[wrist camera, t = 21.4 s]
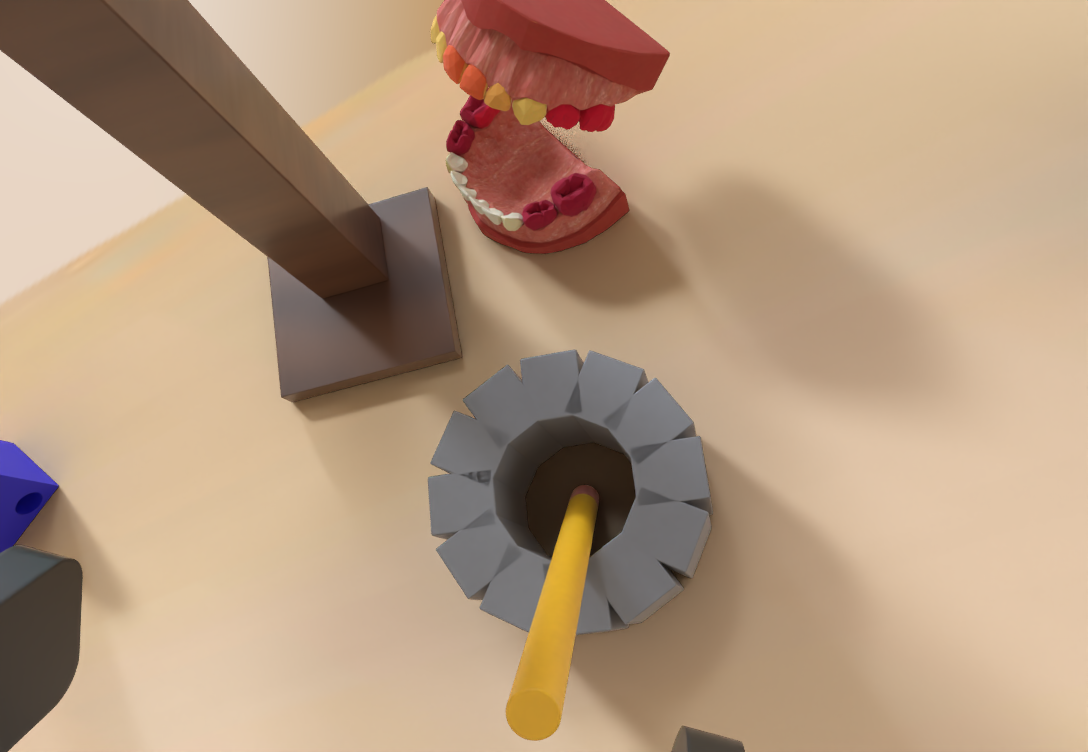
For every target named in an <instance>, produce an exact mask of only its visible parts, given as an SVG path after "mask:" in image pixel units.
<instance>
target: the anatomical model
mask: <svg viewBox="0 0 1088 752" xmlns="http://www.w3.org/2000/svg"><path fill="white" fill-rule="evenodd" d="M431 42H432V43H436V45H437V57H438V59H439V62H440V63H444V70H445V71H446V73H447V74H448V76H449V77H450V79H451V80H453V81H454V82H455V83H456V84H459V83H460V88H461V89H462V90H464V91H465V92H466V93H467V94H469V95H470V97H469V98H468V100H467V102H466V103H465V105H464V106H463V108H462V109H461V111H460V116H461V118H462V120H463V121H462V120H457V121H456V123H455V125H454V126H453V130H451V131H450V133H449V136H448V139H447V141H446V147H447V151H449V152H450V154H449V155H448V156H447V158H446V160H445V161H446V166H447V169H448V172H449V173H451V177H452V180H453V182H454V184H455V185H456V187H457V188H458V189H459V190H460V192H461V194H462V196H463V197H464V200H465V201H466V202H467V204H468V207H469V210H470V213H471V215H472V217H473V218H474V220H475V222H476V224H477V225H478V227H479V228H480V230H481V232H482V233H483V234H484V235H486V236H488V237H489V238H491V239H493V240H494V241H496V242H498V243H501V244H503V245H506V246H510V247H512V248H514V249H517V250H519V251H522V252H525V253H541V254H546V253H552V252H558V251H562V250H565V249H568V248H571V247H574V246H577V245H580V244H583V243H586V242H587V241H589V240H590V239H592V238H594V237H595V236H597V235H599V234H600V233H602V232H603V231H605V230H607V229H608V228H609V227H611V226H612V225H613V224H614V223H615V222H616V221H618V220H619V219H620V218H621V217H622V216H624V215H625V214H626V213H627V212H628V211H629V207H628V203H627V199H626V195H625V193H624V192H623V191H622V190H621V188H620V187H619V186H618V185H617V184H615V183H614V182H613V181H612V180H611V179H610V178H609V177H607V176H606V175H605V174H604V173H603V172H602V171H601V170H599V169H592V168H590V167H588V166H587V165H585V164H584V163H583V162H582V161H581V160H580V159H579V158H578V157H577V156H575V155H574V154H573V153H572V152H571V151H570V150H569V149H568V148H567V147H565V146H564V145H563V144H562V143H561V142H560V141H559V140H558V139H557V138H555V137H554V136H553V135H552V134H551V133H550V132H549V131H548V130H547V129H545V128H544V127H543V126H542V124H541V123H540V122H539V121H540V120H542V119H543V118H544V117H546V118H547V121H548V122H549V123H551V124H552V125H553V126H554V127H562V128H565V129H567V130H568V129H570V128H572V127H573V126H575V125H576V124H577V123H578V121H579V122H580V129H581V130H583V131H584V130H587V131H588V132H593V131H595V130H596V131H598V132H599V131H604V130H606V129H608V128H609V127H610V126H611V123H612V121H613V119H614V111H615V104H618V103H622V102H626V101H627V100H629V99H630V98H632V97H633V96H635V95H637V94H640V93H643V92H646V91H649V90H652V89H653V87H654V85H655V83H656V82H657V80H658V78H659V76H660V74H661V72H662V70H663V68H664V66H665V64H666V62H667V60H668V58H669V55H670V53H669V52H668V51H667V50H666V49H665V48H664V47H662V46H661V45H660V44H659V43H658V42H656V41H655V40H654V39H653V38H651V37H650V36H649V35H648V34H646V33H645V32H644V31H643V30H641V29H640V28H639V27H638V26H636V25H635V24H634V23H633V22H631V21H630V20H629V19H628V18H626V17H625V16H624V15H623V14H621V13H620V12H619V11H618V10H616V9H615V8H614V7H613V6H611V5H610V4H609V3H608V2H606V1H605V0H444V2H443V3H442V4H441V6H440V7H439V9H438V10H437V16H436V17H435V18H434V20H433V24H432V28H431ZM488 87H489V88H488Z"/></svg>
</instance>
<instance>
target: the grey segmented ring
mask: <svg viewBox="0 0 1088 752" xmlns="http://www.w3.org/2000/svg"><path fill="white" fill-rule="evenodd" d="M520 364H521V374H522V380H521V379H520V378H519V376H518V375H517V374H516V373H515V372H514V371H513V370H512V369H511V367H510V366H509V365H506V366H505V367H504V368H502V369H501V370H500V371H498V372H497V373H496V374H495V375H493V376H492V377H491V378H490V379H488V380H487V381H486V382H484V383H483V384H482V385H481V386H479V387H478V388H477V389H475V390H474V391H473V392H472V393H470V394H469V395H468V396H466V397H465V398H464V399H463V402H464V403H465V404H466V406H467V407H468V409H469V410H470V411H471V413H472V414H473V415H474V417H475V418H476V419H474V418H472V417H469V416H467V415H464V414H462V413H459V412H457V411H454V412H453V414H452V416H451V418H450V420H449V423H448V425H447V427H446V429H445V432H444V434H443V436H442V438H441V440H440V443H439V445H438V447H437V449H436V451H435V454H434V456H433V458H432V460H431V463H430V464H432V465H434V466H436V467H438V468H440V469H442V470H444V471H446V472H448V473H450V474H445V475H438V476H432V477H428V489H429V504H430V520H431V534H432V536H436V537H439V538H443V539H447V541H445V542H444V543H443V544H442V545H440V546H439V547H438V548H437V549H436V551H437V552H438V554H439V555H440V557H441V558H442V560H443V561H444V563H445V564H446V566H447V567H448V569H449V570H450V572H451V573H452V575H453V577H454V578H455V580H456V581H457V583H458V584H459V586H460V587H461V589H462V590H463V592H464V593H465V595H466V596H467V598H468V599H478V600H483V601H482V603H481V606H480V609H481V610H483V611H485V612H487V613H489V614H491V615H493V616H495V617H497V618H499V619H501V620H503V621H506V622H508V623H510V624H512V625H514V626H516V627H518V628H520V629H522V630H524V631H526V632H529V631H530V628H531V624H532V621H533V618H534V615H535V611H536V608H537V605H538V602H539V598H540V595H541V592H542V588H543V585H544V582H545V579H546V575H547V572H548V569H549V566H550V562H551V559H552V557H550V556H548V555H547V554H546V552H545V551H544V550H543V548H542V547H541V545H540V544H539V543H538V541H537V540H536V538H535V537H534V536H533V534H532V533H531V531H530V530H529V529H528V519H527V509H526V500H525V496H526V494H527V491H528V489H529V487H530V484H531V482H532V480H533V477H534V475H535V473H536V470H537V468H538V467H539V466H540V465H541V464H542V463H544V462H545V461H546V460H548V459H549V458H550V457H551V456H553V455H554V454H555V453H556V452H558V451H559V450H560V449H562V448H563V447H567V446H574V445H580V444H587V443H593V442H594V443H597V444H600V445H602V446H605V447H607V448H610V449H612V450H615V451H617V452H620V453H623V454H624V455H625V456H626V457H627V458H628V460H629V461H630V462H631V464H632V471H633V478H634V486H635V493H636V497H635V500H634V502H633V505H632V507H631V510H630V512H629V515H628V517H627V520H626V522H625V525H624V527H623V530H622V532H621V533H620V534H619V535H617V536H616V537H615V538H613V539H612V540H611V541H610V542H608V543H607V544H606V545H604V546H603V547H602V548H601V549H599V550H598V551H597V552H596V553H594V554H593V555H592V556H589V562H588V568H587V573H586V579H585V585H584V590H583V596H582V602H581V608H580V613H579V619H578V625H577V630H576V635H579V634H588V633H597V632H606V631H614V630H620V629H627V628H628V627H629V625H628V624H635V623H642V622H643V621H645V620H646V619H647V618H648V617H650V616H651V615H652V614H653V613H655V612H656V611H657V610H659V609H660V608H661V607H662V606H664V605H665V604H666V603H668V602H669V601H670V600H671V599H673V598H674V597H675V596H676V595H678V594H679V593H680V592H682V591H683V590H684V588H683V586H682V585H681V584H680V583H679V581H678V580H677V579H676V577H675V576H674V575H673V573H672V572H671V571H670V570H673V571H675V572H677V573H680V574H682V575H684V576H687V577H689V578H693V575H694V573H695V570H696V568H697V565H698V562H699V560H700V557H701V554H702V552H703V549H704V547H705V544H706V541H707V539H708V536H709V534H710V531H711V522H710V518H709V515H711V514H713V509H712V503H711V497H710V491H709V485H708V479H707V473H706V467H705V461H704V455H703V449H702V443H701V437H700V436H696V433H695V427H694V423H693V421H692V420H691V419H690V417H689V416H688V415H687V414H686V413H685V412H684V410H683V409H682V408H681V407H680V406H679V404H678V403H677V402H676V401H675V400H674V399H673V397H672V396H671V395H670V394H669V393H668V391H667V390H666V389H665V388H664V387H663V386H662V384H661V383H660V382H659V381H658V380H657V378H654V379H653V380H651V381H650V382H649V383H648V380H647V377H646V374H645V371H644V369H641V368H639V367H636V366H633V365H630V364H627V363H624V362H622V361H619V360H616V359H613V358H610V357H608V356H605V355H602V354H599V353H596V352H593V351H589V353H588V355H587V357H586V360H585V362H584V363H583V361H582V359H581V357H580V356H579V354H578V352H577V351H576V350H570V351H564V352H558V353H552V354H546V355H541V356H535V357H529V358H523V359H521V360H520ZM669 569H670V570H669Z"/></svg>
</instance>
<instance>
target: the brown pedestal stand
mask: <svg viewBox="0 0 1088 752" xmlns="http://www.w3.org/2000/svg"><path fill="white" fill-rule="evenodd" d="M0 50H1V51H2V52H3V53H5V54H6V55H7V56H9V57H10V58H11V59H12V60H14V61H15V62H16V63H18V64H19V65H20V66H22V67H23V68H24V69H25V70H27V71H28V72H29V73H31V74H32V75H33V76H34V77H36V78H37V79H38V80H40V81H41V82H42V83H44V84H45V85H46V86H47V87H49V88H50V89H51V90H53V91H54V92H55V93H56V94H58V95H59V96H60V97H62V98H63V99H64V100H65V101H67V102H68V103H69V104H71V105H72V106H73V107H75V108H76V109H77V110H79V111H80V112H81V113H82V114H84V115H85V116H86V117H87V118H89V119H90V120H91V121H93V122H94V123H95V124H97V125H98V126H99V127H100V128H102V129H103V130H104V131H106V132H107V133H108V134H110V135H111V136H112V137H113V138H115V139H116V140H117V141H119V142H120V143H121V144H122V145H124V146H125V147H126V148H128V149H129V150H130V151H132V152H133V153H134V154H135V155H137V156H138V157H139V158H141V159H142V160H143V161H144V162H146V163H147V164H148V165H150V166H151V167H152V168H154V169H155V170H156V171H158V172H159V173H160V174H161V175H163V176H164V177H165V178H166V179H168V180H169V181H170V182H172V183H173V184H174V185H176V186H177V187H178V188H179V189H181V190H182V191H183V192H185V193H186V194H187V195H188V196H190V197H191V198H192V199H194V200H195V201H196V202H198V203H199V204H200V205H201V206H203V207H204V208H205V209H207V210H208V211H209V212H211V213H212V214H213V215H214V216H216V217H217V218H218V219H220V220H221V221H222V222H223V223H225V224H226V225H227V226H229V227H230V228H231V229H233V230H234V231H235V232H236V233H238V234H239V235H240V236H242V237H243V238H244V239H245V240H247V241H248V242H249V243H251V244H252V245H253V246H255V247H256V248H257V249H258V250H260V251H261V252H262V253H264V254H265V255H266V256H267V257H268V265H269V276H270V286H271V296H272V306H273V317H274V327H275V337H276V348H277V358H278V368H279V379H280V389H281V397H282V398H284V399H286V400H288V401H290V402H295V401H299V400H303V399H307V398H310V397H314V396H318V395H322V394H326V393H329V392H333V391H337V390H341V389H345V388H348V387H352V386H356V385H360V384H364V383H367V382H371V381H375V380H379V379H383V378H386V377H390V376H394V375H398V374H401V373H405V372H409V371H413V370H417V369H420V368H424V367H428V366H432V365H436V364H439V363H443V362H447V361H451V360H455V359H458V358H462V353H461V348H460V342H459V336H458V330H457V325H456V319H455V313H454V307H453V301H452V296H451V290H450V284H449V278H448V273H447V267H446V261H445V255H444V249H443V244H442V238H441V232H440V226H439V221H438V215H437V209H436V203H435V198H434V196H433V194H432V193H431V192H430V190H429V189H428V187H426V188H423V189H419V190H416V191H413V192H409V193H406V194H402V195H399V196H396V197H392V198H389V199H386V200H382V201H379V202H376V203H372V204H369V205H368V204H367V203H366V201H365V200H364V199H363V198H362V197H361V196H360V195H359V194H358V192H357V191H356V190H355V189H354V188H353V187H352V186H351V184H350V183H349V182H348V181H347V180H346V179H345V178H344V177H343V175H342V174H341V173H340V172H339V171H338V170H337V169H336V167H335V166H334V165H333V164H332V163H331V162H330V161H329V160H328V158H327V157H326V156H325V155H324V154H323V153H322V152H321V151H320V149H319V148H318V147H317V146H316V145H315V144H314V143H313V141H312V140H311V139H310V138H309V137H308V136H307V135H306V134H305V132H304V131H303V130H302V129H301V128H300V127H299V126H298V125H297V123H296V122H295V121H294V120H293V119H292V118H291V117H290V115H289V114H288V113H287V112H286V111H285V110H284V109H283V108H282V106H281V105H280V104H279V103H278V102H277V101H276V100H275V99H274V97H273V96H272V95H271V94H270V93H269V92H268V91H267V90H266V88H265V87H264V86H263V85H262V84H261V83H260V82H259V80H258V79H257V78H256V77H255V76H254V75H253V74H252V72H251V71H250V70H249V69H248V68H247V67H246V66H245V65H244V63H243V62H242V61H241V60H240V59H239V58H238V57H237V55H236V54H235V53H234V52H233V51H232V50H231V49H230V48H229V46H228V45H227V44H226V43H225V42H224V41H223V40H222V38H221V37H220V36H219V35H218V34H217V33H216V32H215V31H214V29H213V28H212V27H211V26H210V25H209V24H208V23H207V22H206V20H205V19H204V18H203V17H202V16H201V15H200V14H199V12H198V11H197V10H196V9H195V8H194V7H193V6H192V5H191V3H190V2H189V1H188V0H0Z"/></svg>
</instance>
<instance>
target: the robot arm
mask: <svg viewBox="0 0 1088 752" xmlns="http://www.w3.org/2000/svg"><path fill="white" fill-rule="evenodd" d="M82 579H83V577H82V568H81V566H80V564H79V562H78V561H76V560H75V559H71V558H68V557H64V556H60V555H57V554H53V553H49V552H45V551H42V550H38V549H34V548H31V547H27V546H23V545H15V546H12V547H10V548H8V549H6V550H4V551H3V552H1V553H0V752H8V751H9V750H10V749H11V748H12V747H13V746H14V745H15V744H16V743H17V742H18V741H19V740H20V739H21V738H22V737H23V736H24V735H26V734H27V733H28V732H29V731H30V730H31V729H32V728H33V727H34V726H35V725H36V724H37V723H38V722H39V721H40V720H41V719H42V718H43V717H45V716H46V715H47V714H48V713H49V712H50V711H51V710H52V709H53V708H54V707H55V706H56V705H57V704H58V702H59V701H60V700H61V699H62V697H63V696H64V694H65V693H66V691H67V689H68V688H69V686H70V684H71V682H72V680H73V677H74V675H75V672H76V669H77V665H78V661H79V649H80V625H81V602H82ZM672 752H745V750H744V746H743V744H742V742H740V741H738V740H734V739H730V738H727V737H723V736H719V735H715V734H712V733H708V732H704V731H701V730H697V729H693V728H690V727H686V726H682V727H681V728H680V730H679V732H678V734H677V737H676V739H675V742H674V746H673V749H672Z"/></svg>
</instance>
